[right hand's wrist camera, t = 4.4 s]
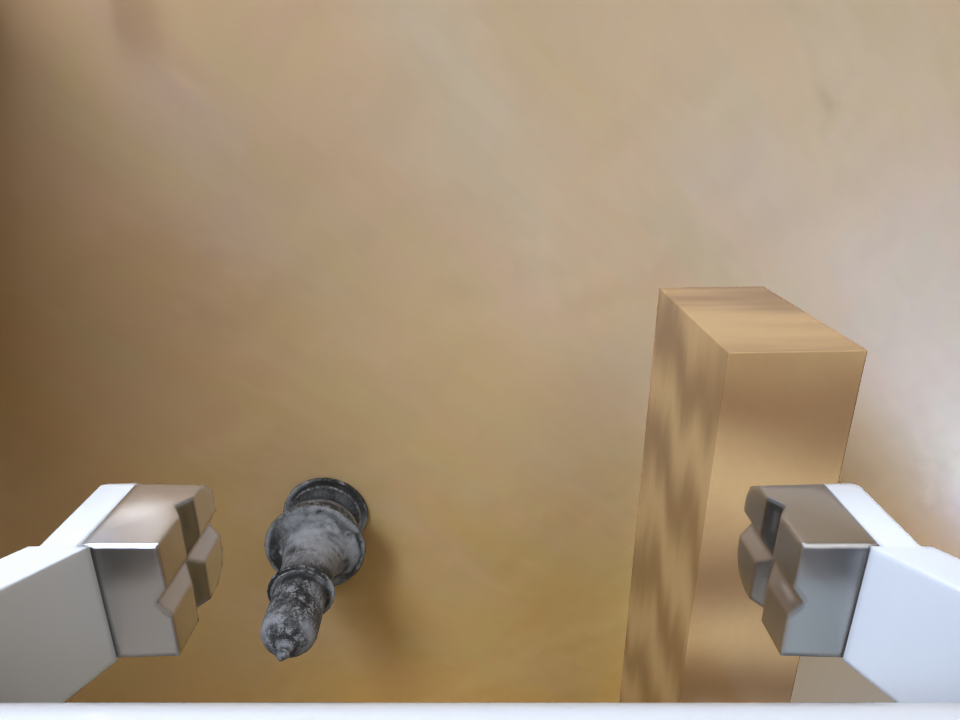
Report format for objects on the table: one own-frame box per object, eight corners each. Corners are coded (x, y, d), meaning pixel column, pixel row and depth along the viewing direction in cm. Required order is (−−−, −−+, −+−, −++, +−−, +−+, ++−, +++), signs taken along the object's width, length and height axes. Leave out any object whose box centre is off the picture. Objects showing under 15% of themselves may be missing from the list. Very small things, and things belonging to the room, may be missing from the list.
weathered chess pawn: (390, 503, 43) (366, 648, 32) (341, 565, 44) (302, 723, 33) (310, 457, 41) (255, 591, 30) (262, 523, 43) (194, 673, 32)
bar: (659, 287, 30) (728, 352, 22) (764, 286, 30) (868, 350, 22) (616, 734, 40) (654, 884, 32) (695, 731, 40) (751, 880, 32)
